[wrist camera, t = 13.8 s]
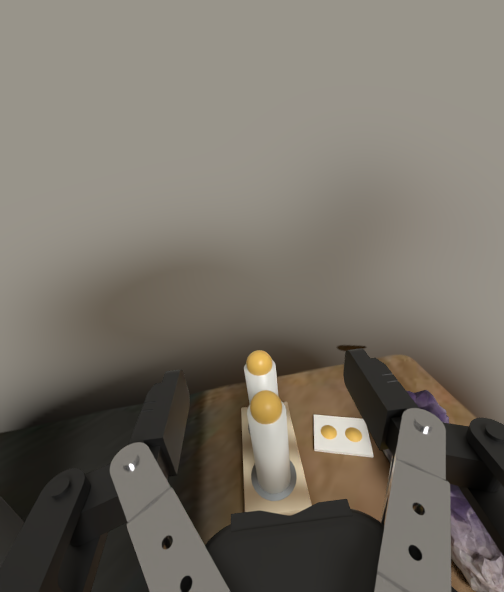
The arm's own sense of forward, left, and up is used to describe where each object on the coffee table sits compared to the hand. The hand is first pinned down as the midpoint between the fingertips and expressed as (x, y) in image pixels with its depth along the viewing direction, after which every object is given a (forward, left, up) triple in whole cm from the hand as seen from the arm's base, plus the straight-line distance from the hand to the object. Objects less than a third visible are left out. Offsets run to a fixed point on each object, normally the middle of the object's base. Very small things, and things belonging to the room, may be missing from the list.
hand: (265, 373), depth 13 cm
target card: (+1, +20, -29) cm, 35 cm away
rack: (-7, +13, -29) cm, 32 cm away
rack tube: (-9, +16, -28) cm, 33 cm away
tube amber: (-5, +10, -27) cm, 30 cm away
